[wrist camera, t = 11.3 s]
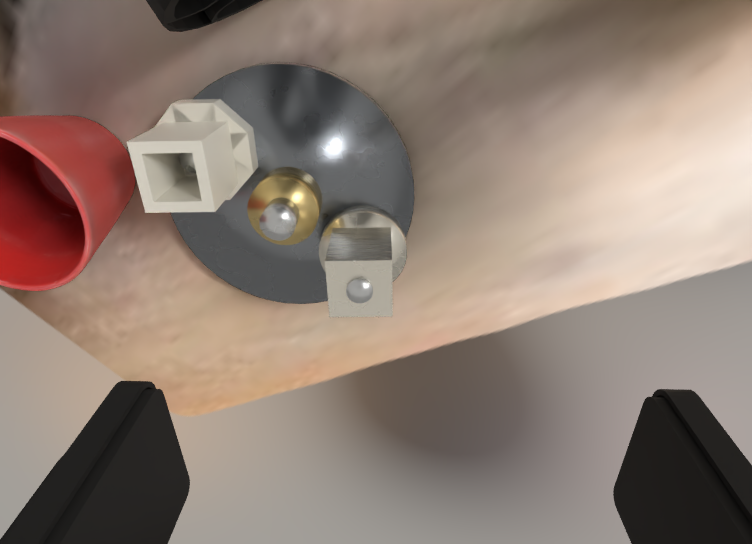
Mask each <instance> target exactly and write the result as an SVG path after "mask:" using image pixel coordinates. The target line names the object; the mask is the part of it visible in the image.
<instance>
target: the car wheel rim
mask: <svg viewBox="0 0 752 544" xmlns="http://www.w3.org/2000/svg"><path fill="white" fill-rule="evenodd" d="M146 1H147V2H148V4H149V5H150V7H151V8H152V10H153V11H154V13H155V14H156V16H157V17H158V19H159V20H160V22H161V23H162V25H163V26H164V27H165V28H167V29H168V30H169V31H177V32H183V31H187V30H192V29H197V28H201V27H203V26H206V25H209V24H212V23H214V22H217V21H220V20H222V19H225V18H227V17H229V16H231V15H234V14H236V13H238V12H240V11H242V10H244V9H246V8H248V7H250V6H252V5H254V4H256V3H258V2H260V1H262V0H146Z"/></svg>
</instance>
